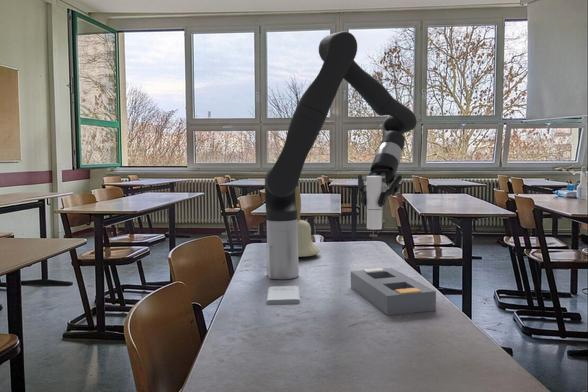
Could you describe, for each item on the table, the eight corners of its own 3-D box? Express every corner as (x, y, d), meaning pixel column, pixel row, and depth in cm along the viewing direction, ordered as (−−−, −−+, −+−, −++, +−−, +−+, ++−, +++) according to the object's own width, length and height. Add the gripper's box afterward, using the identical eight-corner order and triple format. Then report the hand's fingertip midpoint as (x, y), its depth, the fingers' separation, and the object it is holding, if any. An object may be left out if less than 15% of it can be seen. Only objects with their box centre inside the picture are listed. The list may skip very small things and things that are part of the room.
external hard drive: (266, 306, 118) (268, 291, 131) (300, 305, 119) (298, 291, 131) (266, 299, 118) (268, 286, 131) (299, 298, 118) (298, 285, 131)
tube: (381, 229, 136) (381, 176, 134) (366, 229, 137) (366, 176, 135) (382, 227, 140) (381, 175, 139) (367, 227, 141) (366, 175, 140)
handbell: (269, 258, 171) (266, 188, 168) (291, 250, 183) (290, 185, 181) (306, 262, 163) (304, 188, 160) (327, 254, 175) (326, 185, 173)
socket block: (435, 310, 110) (435, 289, 110) (387, 315, 108) (387, 294, 107) (391, 283, 134) (391, 266, 133) (350, 287, 131) (350, 270, 131)
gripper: (361, 152, 146) (344, 195, 137) (407, 151, 139) (392, 197, 130) (368, 169, 151) (352, 211, 142) (412, 169, 144) (399, 214, 135)
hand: (371, 204), depth 136 cm, fingers closed on tube, 4 cm apart
